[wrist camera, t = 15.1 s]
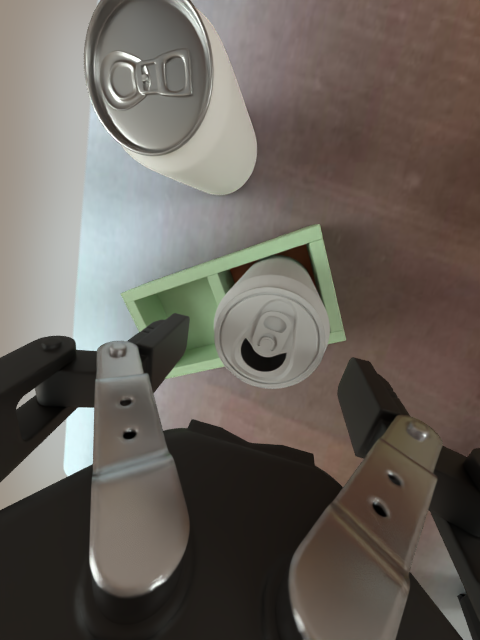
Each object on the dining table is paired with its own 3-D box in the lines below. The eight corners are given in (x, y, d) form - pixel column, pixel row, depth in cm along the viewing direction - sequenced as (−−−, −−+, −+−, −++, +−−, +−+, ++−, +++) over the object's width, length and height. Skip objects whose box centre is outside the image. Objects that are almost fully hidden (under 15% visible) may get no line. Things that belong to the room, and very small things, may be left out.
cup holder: (146, 282, 26) (120, 293, 22) (313, 224, 22) (319, 224, 17) (180, 357, 29) (162, 379, 25) (336, 320, 24) (346, 340, 20)
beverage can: (235, 306, 25) (193, 371, 14) (256, 243, 22) (225, 260, 11) (295, 328, 24) (302, 412, 13) (323, 267, 22) (360, 308, 11)
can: (181, 110, 20) (55, -26, 9) (258, 102, 19) (220, -62, 8) (187, 197, 23) (93, 170, 12) (257, 195, 22) (226, 163, 11)
